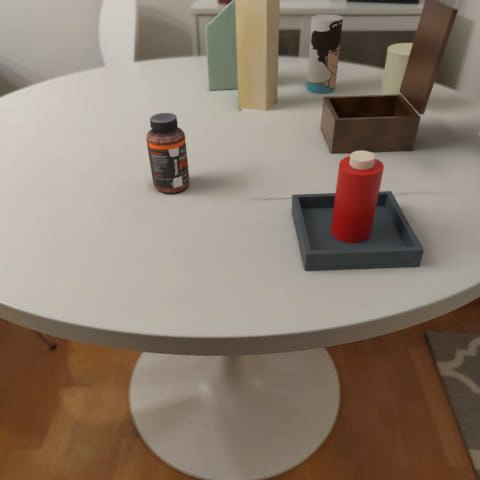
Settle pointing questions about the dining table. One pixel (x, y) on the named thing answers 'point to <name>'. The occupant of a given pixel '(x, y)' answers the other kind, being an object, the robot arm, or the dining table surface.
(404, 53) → the can
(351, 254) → the tray
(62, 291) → the dining table surface
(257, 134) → the dining table surface
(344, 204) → the ketchup bottle
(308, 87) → the cup
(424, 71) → the chest lid
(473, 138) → the dining table surface
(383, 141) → the chest
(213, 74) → the green magazine holder
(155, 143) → the supplement bottle
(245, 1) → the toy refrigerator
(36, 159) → the dining table surface
